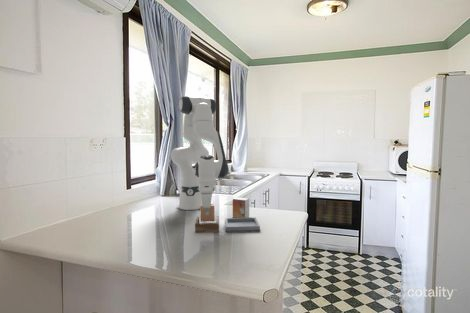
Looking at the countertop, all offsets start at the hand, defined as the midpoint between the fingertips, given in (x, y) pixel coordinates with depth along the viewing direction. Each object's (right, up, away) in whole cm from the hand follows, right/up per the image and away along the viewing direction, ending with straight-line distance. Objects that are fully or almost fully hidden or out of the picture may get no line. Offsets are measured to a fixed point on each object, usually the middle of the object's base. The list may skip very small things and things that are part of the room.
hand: (207, 213), depth 150 cm
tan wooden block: (0, -4, 0) cm, 4 cm away
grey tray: (+18, -6, -6) cm, 19 cm away
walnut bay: (+1, -6, -7) cm, 9 cm away
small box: (+18, -5, +12) cm, 22 cm away
